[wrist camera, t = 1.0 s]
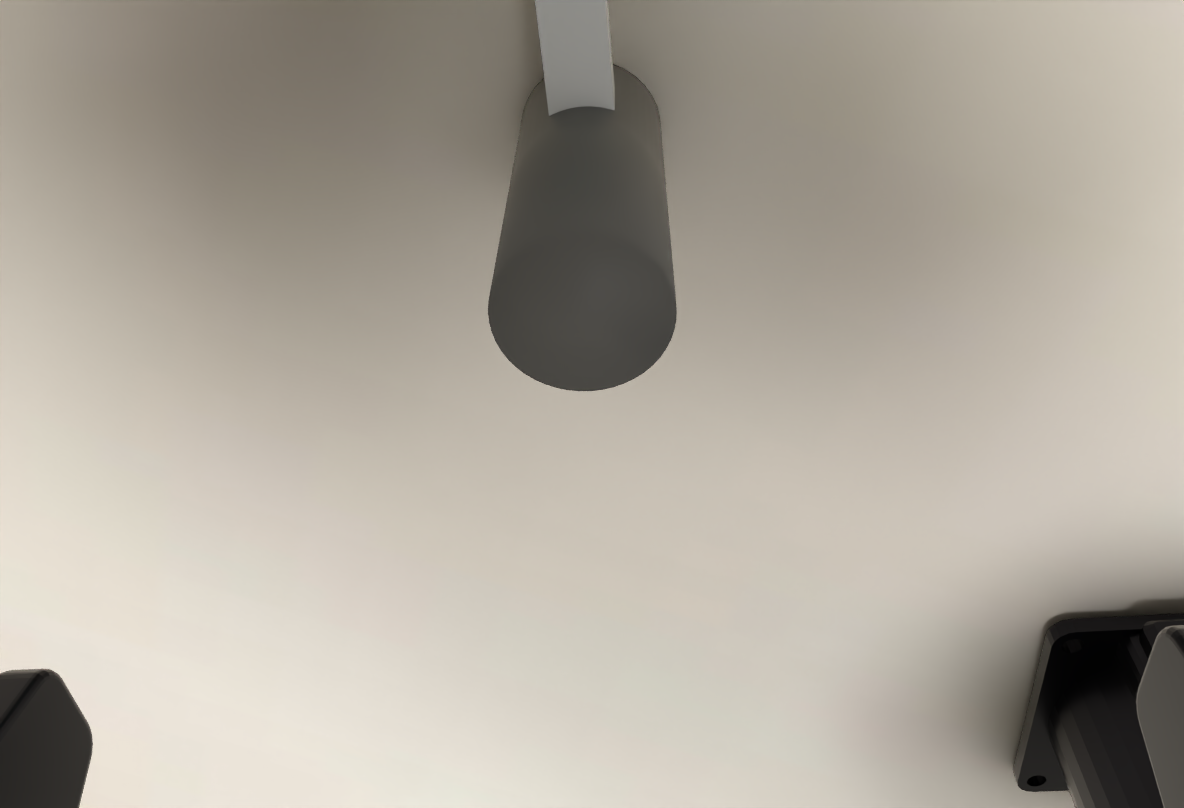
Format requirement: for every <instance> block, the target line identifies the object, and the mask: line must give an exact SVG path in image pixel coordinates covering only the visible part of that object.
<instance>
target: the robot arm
mask: <svg viewBox="0 0 1184 808" xmlns="http://www.w3.org/2000/svg"><path fill="white" fill-rule="evenodd" d="M92 746H93V742H92V734H91V730H90V726H89V724H88V722H87V720H86V719H85V717H84V715H83V714H82V712H81V710H80V709H79V707H78V705H77V704H76V702H75V700H74V698H73V697H72V695H71V693H70V692H69V690H68V688H67V687H66V685H65V683H64V681H63V680H62V678H61V677H60V676H59V675H58V674H57V673H56V672H54V671H52V670H49V669H28V670H11V671H6V672H3V673H1V674H0V808H79V805H80V801H81V797H82V793H83V789H84V785H85V781H86V777H87V772H88V768H89V764H90V760H91V755H92ZM1013 772H1014V776H1015V778H1016V781H1017V784H1018V786H1019V787H1020V788H1021V789H1022V790H1025V791H1032V792H1038V791H1065V790H1069V791H1070V794H1071V797H1072V799H1073V802H1074V804H1075V807H1076V808H1184V614H1165V615H1144V616H1123V617H1103V618H1082V619H1068V620H1062V621H1060V622H1058V623H1056V624H1054V625H1053V626H1052V627H1050V628H1049V629H1048V631H1047V633H1046V636H1045V640H1044V644H1043V648H1042V652H1041V657H1040V661H1039V665H1038V669H1037V673H1036V677H1035V681H1034V685H1033V689H1032V693H1031V697H1030V702H1029V706H1028V710H1027V714H1026V718H1025V722H1024V726H1023V730H1022V734H1021V738H1020V742H1019V747H1018V751H1017V755H1016V759H1015V763H1014V767H1013Z"/></svg>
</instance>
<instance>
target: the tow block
mask: <svg viewBox="0 0 1184 808" xmlns="http://www.w3.org/2000/svg"><path fill="white" fill-rule="evenodd" d="M535 6H536V14H537V22H538V30H539V38H540V47H541V55H542V63H543V71H544V79H542V81H541V82H540V83H539V84H538V85H537V86H536V87H535V89H534V90H533V91H532V93H531V94H530V96H529V98H528V100H527V102H526V105H525V108H524V111H523V116H522V121H521V127H520V132H519V138H518V143H517V149H516V154H515V160H514V165H513V171H512V176H511V182H510V187H509V192H508V198H507V203H506V209H505V214H504V220H503V225H502V231H501V236H500V242H499V247H498V253H497V258H496V263H495V269H494V274H493V280H492V285H491V291H490V296H489V304H488V315H489V323H490V327H491V331H492V334H493V336H494V338H495V341H496V343H497V344H498V346H499V348H500V349H501V351H502V352H503V353H504V355H505V356H506V357H507V359H508V360H509V361H510V362H511V363H512V364H513V365H515V366H516V367H517V368H518V369H519V370H521V371H522V372H523V373H525V374H526V375H528V376H530V377H531V378H533V379H535V380H537V381H539V382H542V383H544V384H546V385H550V386H553V387H556V388H560V389H565V390H573V391H595V390H603V389H607V388H612V387H615V386H618V385H621V384H624V383H626V382H628V381H630V380H632V379H634V378H636V377H638V376H639V375H641V374H642V373H644V372H645V371H646V370H648V369H649V368H650V367H651V366H652V365H653V364H654V363H655V362H656V361H657V360H658V359H659V358H660V357H661V355H662V354H663V352H664V351H665V350H666V348H667V346H668V344H669V342H670V340H671V338H672V335H673V332H674V329H675V323H676V298H675V286H674V275H673V263H672V252H671V240H670V229H669V217H668V206H667V194H666V183H665V171H664V160H663V148H662V137H661V125H660V117H659V113H658V109H657V106H656V103H655V101H654V99H653V97H652V95H651V94H650V92H649V91H648V89H647V88H646V87H645V86H644V84H643V83H642V82H641V81H640V80H639V79H638V78H636V77H635V76H634V75H632V74H631V73H630V72H628V71H626V70H624V69H622V68H620V67H618V66H615V65H613V60H612V48H611V36H610V24H609V12H608V0H535Z"/></svg>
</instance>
